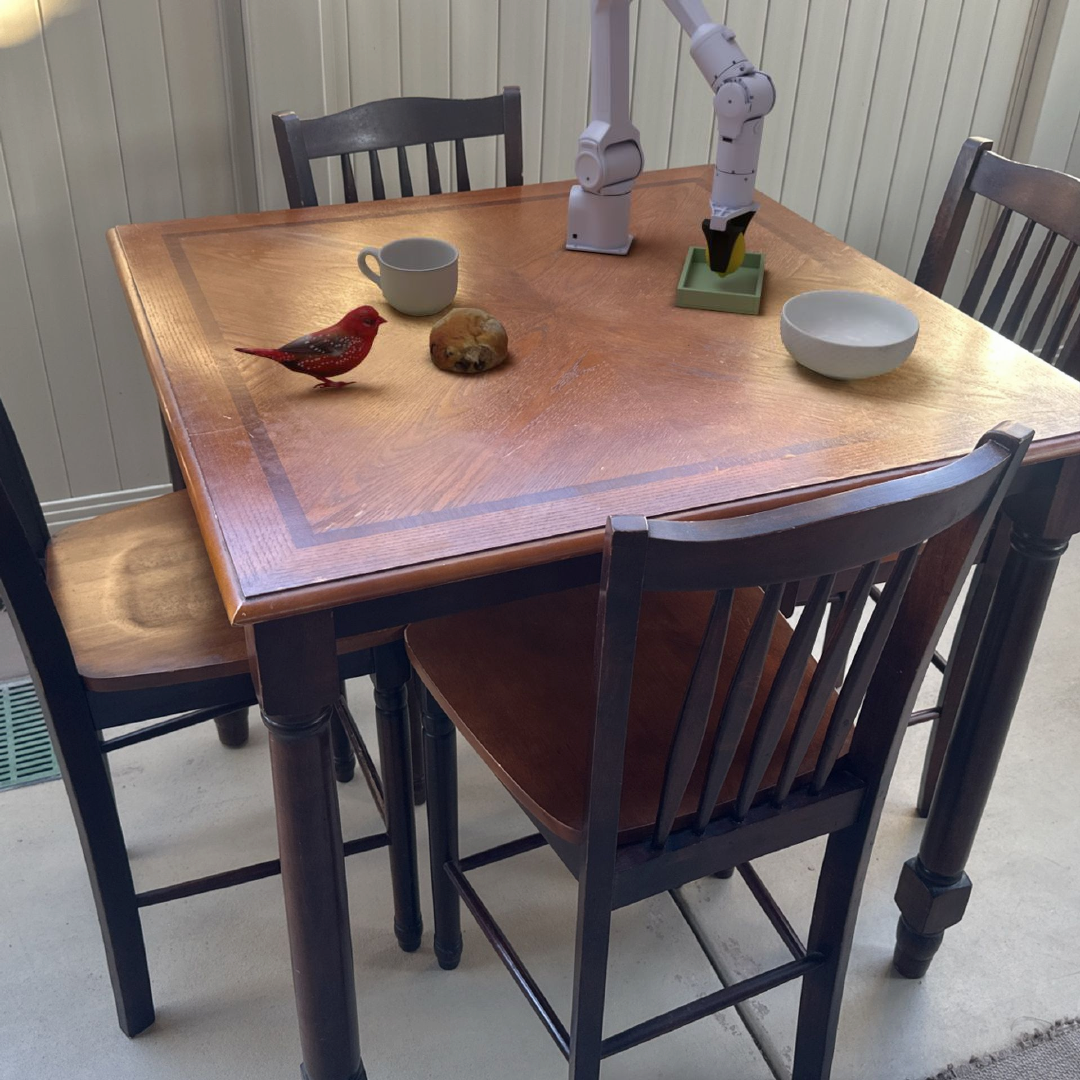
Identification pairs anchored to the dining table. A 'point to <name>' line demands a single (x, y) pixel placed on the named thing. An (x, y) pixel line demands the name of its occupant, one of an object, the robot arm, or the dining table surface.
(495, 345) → the bread roll
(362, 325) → the decorative bird figurine
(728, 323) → the dining table surface
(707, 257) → the lemon
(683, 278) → the tray
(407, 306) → the teacup
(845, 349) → the cereal bowl
